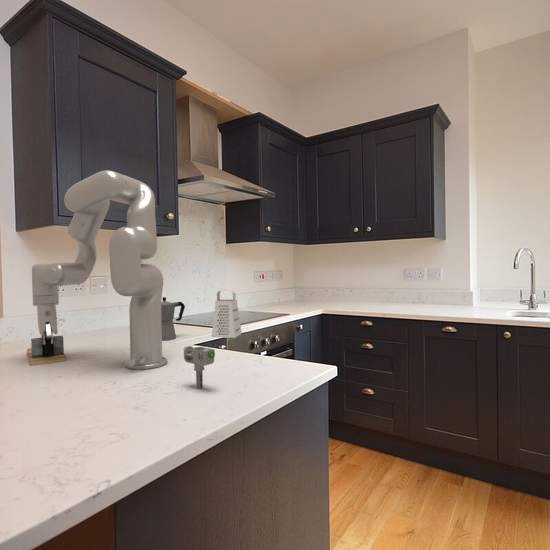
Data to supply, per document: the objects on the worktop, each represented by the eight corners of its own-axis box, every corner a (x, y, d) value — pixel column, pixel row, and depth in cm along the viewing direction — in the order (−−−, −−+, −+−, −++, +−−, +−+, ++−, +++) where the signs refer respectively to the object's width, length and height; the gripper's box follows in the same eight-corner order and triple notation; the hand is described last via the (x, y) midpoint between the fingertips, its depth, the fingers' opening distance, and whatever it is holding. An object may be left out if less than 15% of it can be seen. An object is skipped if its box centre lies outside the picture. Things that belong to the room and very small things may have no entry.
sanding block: (62, 352, 134) (61, 335, 134) (63, 354, 130) (63, 337, 130) (31, 356, 128) (31, 338, 128) (32, 358, 125) (31, 340, 125)
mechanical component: (191, 382, 101) (190, 344, 101) (217, 390, 94) (217, 349, 94) (182, 385, 99) (181, 346, 98) (208, 393, 92) (207, 351, 92)
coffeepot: (151, 342, 158) (150, 298, 158) (147, 338, 167) (146, 297, 166) (188, 338, 165) (187, 296, 165) (182, 335, 174) (181, 295, 173)
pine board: (66, 360, 128) (66, 356, 128) (30, 365, 123) (30, 360, 123) (58, 348, 148) (57, 345, 148) (27, 352, 142) (27, 348, 142)
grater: (234, 337, 165) (233, 291, 165) (211, 337, 167) (210, 291, 167) (241, 333, 176) (240, 289, 175) (219, 333, 178) (218, 290, 177)
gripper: (61, 301, 124) (63, 357, 125) (55, 298, 138) (57, 349, 138) (34, 303, 120) (36, 361, 120) (31, 299, 134) (32, 352, 134)
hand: (47, 354), depth 129 cm, fingers closed on sanding block, 4 cm apart
